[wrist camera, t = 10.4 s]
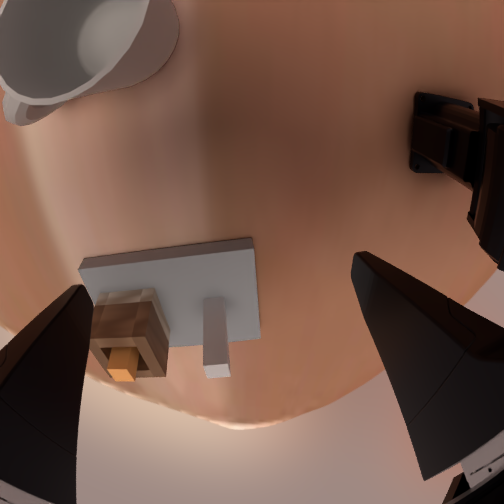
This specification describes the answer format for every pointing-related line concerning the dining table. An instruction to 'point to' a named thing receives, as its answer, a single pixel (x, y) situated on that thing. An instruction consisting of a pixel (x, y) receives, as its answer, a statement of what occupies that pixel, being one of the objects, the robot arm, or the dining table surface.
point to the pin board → (186, 297)
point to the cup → (78, 50)
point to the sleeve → (131, 329)
